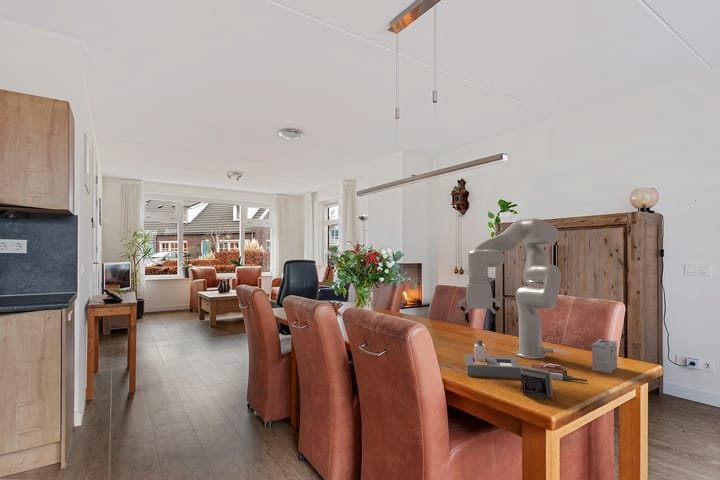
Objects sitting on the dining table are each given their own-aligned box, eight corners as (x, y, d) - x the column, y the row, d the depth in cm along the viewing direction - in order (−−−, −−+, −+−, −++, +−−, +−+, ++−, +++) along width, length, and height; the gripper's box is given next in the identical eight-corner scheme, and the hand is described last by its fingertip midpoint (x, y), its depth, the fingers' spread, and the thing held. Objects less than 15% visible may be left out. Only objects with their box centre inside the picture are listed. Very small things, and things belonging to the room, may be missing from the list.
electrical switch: (553, 396, 124) (551, 369, 124) (549, 403, 120) (548, 374, 119) (523, 390, 130) (522, 364, 129) (519, 396, 126) (517, 369, 125)
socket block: (514, 366, 157) (514, 355, 157) (522, 378, 141) (522, 367, 142) (465, 363, 161) (464, 353, 161) (467, 375, 146) (467, 364, 146)
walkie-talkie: (527, 376, 145) (587, 385, 135) (526, 364, 146) (587, 373, 135) (530, 370, 153) (587, 378, 142) (530, 359, 153) (587, 366, 143)
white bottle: (485, 368, 154) (484, 339, 154) (485, 371, 150) (485, 341, 150) (474, 368, 155) (474, 338, 155) (475, 371, 151) (474, 341, 151)
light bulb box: (599, 364, 159) (598, 338, 159) (618, 367, 154) (617, 341, 154) (591, 370, 151) (591, 343, 151) (611, 373, 146) (610, 346, 147)
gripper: (499, 279, 155) (501, 321, 155) (456, 280, 159) (457, 320, 159) (502, 281, 148) (503, 324, 148) (457, 281, 152) (458, 324, 151)
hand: (480, 322), depth 153 cm, fingers open, 9 cm apart
